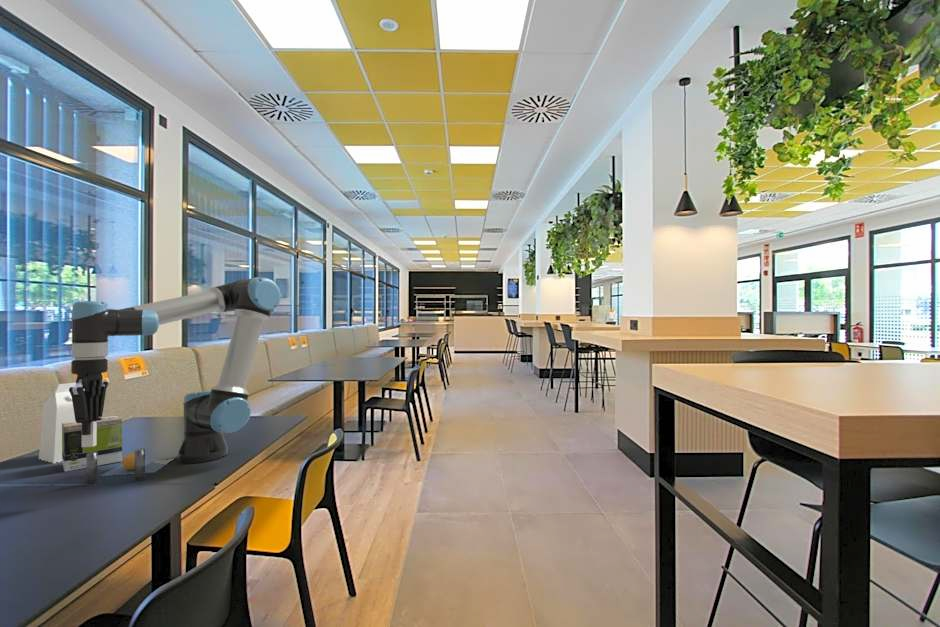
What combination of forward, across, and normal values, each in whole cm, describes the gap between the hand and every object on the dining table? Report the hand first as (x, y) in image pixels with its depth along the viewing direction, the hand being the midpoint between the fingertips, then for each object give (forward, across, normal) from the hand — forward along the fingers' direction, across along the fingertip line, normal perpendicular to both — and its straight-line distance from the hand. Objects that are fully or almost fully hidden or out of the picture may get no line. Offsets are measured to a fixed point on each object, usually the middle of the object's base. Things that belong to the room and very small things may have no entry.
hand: (89, 446), depth 122 cm
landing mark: (+14, -27, 0) cm, 30 cm away
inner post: (+14, -13, +6) cm, 20 cm away
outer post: (+14, -13, -6) cm, 20 cm away
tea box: (+14, -35, -18) cm, 42 cm away
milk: (+14, -47, -32) cm, 59 cm away
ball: (+11, -24, -1) cm, 27 cm away
